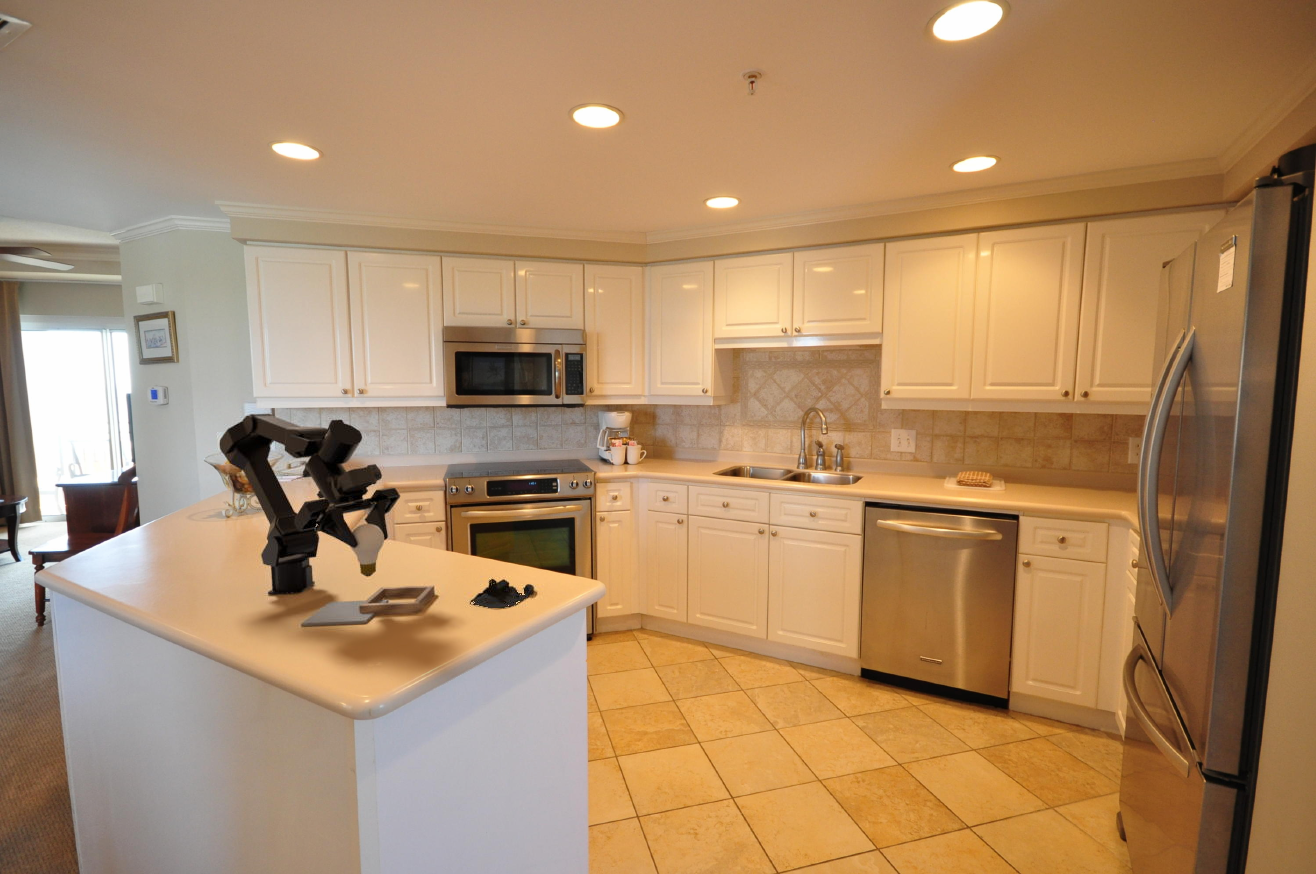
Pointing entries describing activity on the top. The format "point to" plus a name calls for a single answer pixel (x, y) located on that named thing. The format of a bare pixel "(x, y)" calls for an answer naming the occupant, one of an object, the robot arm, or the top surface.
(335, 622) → the coaster
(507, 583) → the black irregular lumpy piece
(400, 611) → the holder frame
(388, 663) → the top surface
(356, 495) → the robot arm
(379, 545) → the light bulb
